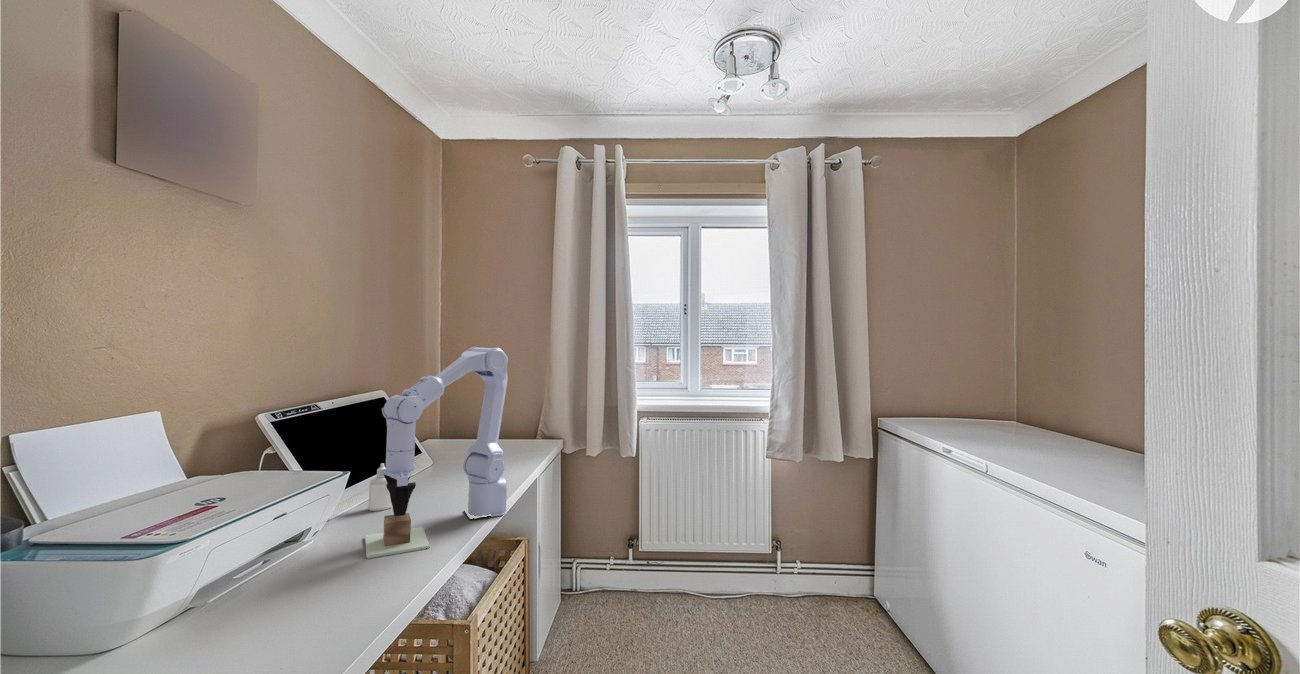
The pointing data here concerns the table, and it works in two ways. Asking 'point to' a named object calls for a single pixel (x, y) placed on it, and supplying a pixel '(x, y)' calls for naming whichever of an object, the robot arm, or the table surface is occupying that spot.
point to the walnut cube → (397, 529)
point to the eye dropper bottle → (379, 493)
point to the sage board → (378, 549)
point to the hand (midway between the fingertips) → (398, 509)
